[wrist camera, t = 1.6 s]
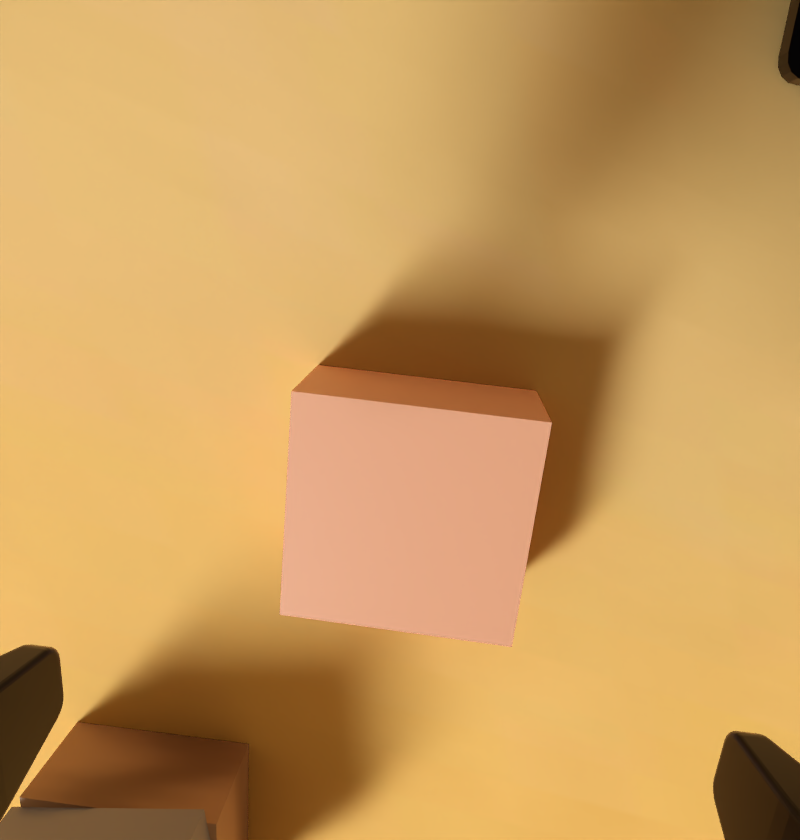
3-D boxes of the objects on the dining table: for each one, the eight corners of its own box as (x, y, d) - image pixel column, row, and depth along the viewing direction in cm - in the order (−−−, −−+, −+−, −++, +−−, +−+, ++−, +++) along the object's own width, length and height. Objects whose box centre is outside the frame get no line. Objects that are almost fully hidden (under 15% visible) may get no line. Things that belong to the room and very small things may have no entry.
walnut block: (250, 738, 20) (216, 824, 17) (249, 870, 22) (218, 968, 19) (81, 716, 20) (19, 797, 17) (92, 847, 22) (37, 941, 19)
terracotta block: (534, 387, 16) (552, 422, 13) (503, 579, 18) (511, 647, 15) (320, 362, 16) (291, 391, 14) (307, 553, 18) (279, 614, 15)
